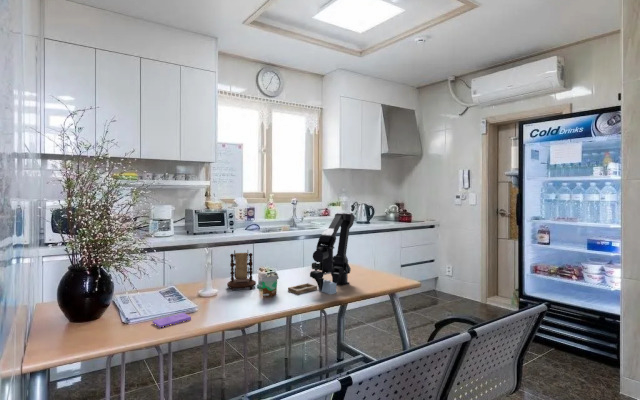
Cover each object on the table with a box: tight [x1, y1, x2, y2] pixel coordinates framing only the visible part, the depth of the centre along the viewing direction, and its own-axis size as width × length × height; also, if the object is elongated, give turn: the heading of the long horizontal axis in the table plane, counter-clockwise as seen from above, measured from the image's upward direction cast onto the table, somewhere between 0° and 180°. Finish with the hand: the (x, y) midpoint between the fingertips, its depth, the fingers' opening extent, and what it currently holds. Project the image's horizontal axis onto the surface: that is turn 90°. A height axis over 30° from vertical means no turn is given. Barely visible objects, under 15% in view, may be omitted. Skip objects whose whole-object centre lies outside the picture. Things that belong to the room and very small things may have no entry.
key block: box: [318, 279, 337, 295], centre depth 188 cm, size 4×9×6 cm, turn 41°
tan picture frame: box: [287, 282, 318, 295], centre depth 190 cm, size 13×8×2 cm, turn 131°
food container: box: [261, 271, 279, 298], centre depth 182 cm, size 12×6×10 cm, turn 168°
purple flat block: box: [152, 312, 192, 328], centre depth 147 cm, size 7×13×2 cm, turn 135°
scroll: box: [226, 249, 257, 291], centre depth 195 cm, size 15×15×20 cm
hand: (327, 289), depth 188 cm, fingers open, 9 cm apart
